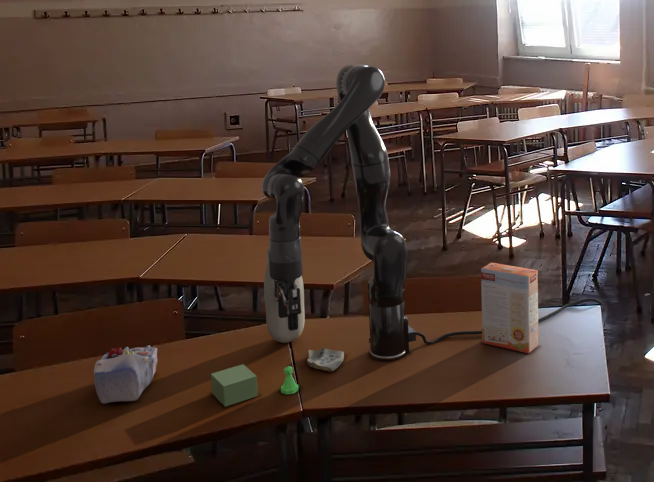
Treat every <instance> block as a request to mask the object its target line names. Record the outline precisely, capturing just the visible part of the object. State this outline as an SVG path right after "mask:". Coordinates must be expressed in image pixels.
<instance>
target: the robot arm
mask: <svg viewBox="0 0 654 482" xmlns="http://www.w3.org/2000/svg"><path fill="white" fill-rule="evenodd" d="M335 82H336V83H335V84H336V92H337V97H338V100H339V103H338V104H336V105H335V107H334V108H333V109H332V110H330V111H329V112H328V113H327V114H325V115H324V116H323V117H322V118H320V119H319V120H318V121H316V122H315V123H313V125H311V126H310V127H309V128H308V129H307V130H306V131H305V133H304V134H303V135H302V137H300V139H299V140H298V141H297V143H296V144H295V145H294V146H293V148H292V150H291V151H289V153H288V154H286V155H285V156H284V157H282V158H281V159H280V160H279V161H277V162H276V164H274V165H273V166H271V168H270V169H269V170H268V171H267V173H266V174H265V176H264V177H263V179H262V184H261V192H262V194H263V195H264V196H265V197H266V198H267V199H269V200H271V201H274V202H276V210H275V212H273V213H271V214H270V216H269V218H268V239H269V240H268V247H269V268H270V277H271V278H272V279H274V287H275V294H274V295H275V297H277V299H276V300H277V302H279V303H278V314H279V317H280V318H285V317H288V329H289V330H290V331H292V330H297V329H298V314H301V301H300V289H299V288H297V284H295V280H296V279H297V278H299V277H301V276H302V277H303V273H304V270H303V269H304V268H303V248H302V247H303V246H302V241H301V223H300V219H301V215H302V210H303V206H304V201H305V186H304V183H303V181H302V179H301V178H300V177H302V176H303V175H304V174H311V173H313V172H314V171H315V170H316V169H317V168H318V167H319V165H320V164H321V163H322V162H323V160H324V159H325V157H326V156H327V155H328V153H329V152H330V151H331V149H332V148H333V147H334V145H335V144H336V143H337V142H338V140H340V138H341V137H342V136H343V135H344V134H345V133H346V136H347V142H348V143H347V144H348V148H349V154H350V165H351V170H352V178H353V181H354V187H355V191H356V192H355V193H356V199H357V205H358V213H359V227H360V245H361V250H362V253H363V254H364V255H365V257H366V258H367V259H369V260H370V261H372V262H373V275H372V276H371V277H370V278H369V279H368V280H367V296H368V297H367V298H368V299H367V301H368V322H369V323H368V324H369V338H368V344H369V345H370V346H369V347H370V348H369V353H370V354H369V355H370V357H371V358H373V359H375V360H377V361H388V362H389V361H395V360H399V359H401V358H403V357H404V356H406V355H408V354H410V343H412V342H416V341H417V336H419V337H421V338H422V341H423V343H424V344H425V345H433V344H435V343H437V342H440V341H443V340H444V339H446V338H450V337H453V336H462V335H465V336H466V335H482V330H463V331H462V330H461V331H452V332H448V333H445V334H443V335H441V336H439V337H438V338H436V339H434V340H427V338H426V337H427V336H426V335H425V334H424V333H422V332H419V331H415V330H414V328H412V327H411V326H410V325H409V319H408V318H409V317H407V316H406V306H405V305H406V303H405V302H406V301H405V282H406V280H407V275H408V247H407V243H406V239H405V238H404V236H403V235H402V234H400V233H399V232H397V231H395V230H393V229H391V228H390V223H389V220H388V219H389V218H388V214H387V206H386V205H387V197H388V193H389V189H390V185H391V167H390V161H389V154H388V150H387V148H386V145H385V143H384V141H383V139H382V137H381V136H380V133H379V132H378V130H377V128H376V126H375V124H374V122H373V119H372V115H371V112H370V108H371V107H372V106H373V105H374V104H375V103H376V102H377V101H378V100H379V99H380V98H381V96H382V94H383V93H384V90H385V86H386V79H385V76H384V73H383V72H382V71H381V70H380V69H379V68H378V67H375V66H373V65H366V64H347V65H344V66H343V67H342V68H341V69H340V70H339V72H338V74H337V76H336V81H335ZM587 302H593V303H596V304H599V305H604V303H603V302H602V301H601V300H599V299H597V298H594V297H593V298H592V297H588V298H583V299H580V300H576V301H573V302H569V303H567V304H564V305H562V306H560V307H559V308H558V309H556V310H554V311H552V312H551V313H548V314H547V315H544V316H542V317H540V318H538V324H539V323H541V322H543V321H545V320H548V319H549V318H551V317H553V316H555V315H557V314H559V313H561V312H562V311H564V310H565V309H567V308H570V307H574V306H577V305H579V304H583V303H587ZM293 305H294V306H295V309H292V306H293ZM608 425H609V424H608V423H607V424H606V425H605V426H604V430H609V429H608V428H609V427H608Z"/></svg>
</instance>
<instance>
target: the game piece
mask: <svg viewBox="0 0 654 482" xmlns="http://www.w3.org/2000/svg"><path fill="white" fill-rule="evenodd" d="M283 372H284V375H285V379H284V382H283V384H282V385H281V386H280V393H281V394H283V395H293V394H295V393H297V392H299V384H297V382H296V381H295V379H294V377H293V375H292V374H293V373H294V368H293V367H292V366H290V365H288V366H285V368H283Z"/></svg>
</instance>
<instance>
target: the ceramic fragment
mask: <svg viewBox="0 0 654 482" xmlns="http://www.w3.org/2000/svg"><path fill="white" fill-rule="evenodd" d="M306 351H307V352H306V356H307V358H306V359H307V360H306V364H307V365H308V366H309V367H311V368H314V369H317V370H322V371H327V372H330V373H331V372H334V371H335V370H337V369H338V368H339V367H341V365H342V364H343V362H344V358H345V352H344V351H343V350H332V349H329V348H325V347H323V348H320V349H319V350H316V349H315V350H313V349H308V350H306Z"/></svg>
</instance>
